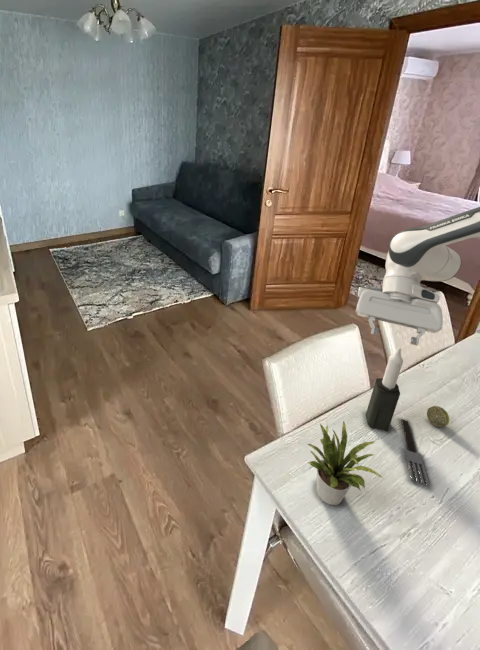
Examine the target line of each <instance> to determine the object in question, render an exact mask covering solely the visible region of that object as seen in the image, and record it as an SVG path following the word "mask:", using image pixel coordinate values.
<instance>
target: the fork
mask: <svg viewBox="0 0 480 650" xmlns="http://www.w3.org/2000/svg"><path fill="white" fill-rule="evenodd" d="M400 423H401V427H402V431H403V436H404V440H405V445H406V448H407V449H405V448H404V449H403V454H404V458H405V461H406V465H407V470H408V475H409V479H410V481H411V482H414V481H415V483H416V484H419V483H420V485H425V486H426V487H430V483H429V482H430V481H429V479H428V476H427V475H428V474H427V472H426V468H425V463H424V460H423V457H422V454H421V453H417V449H416V446H415V443H414V438H413V435H412V430H411V427H410V424H409V420H405V419H400Z"/></svg>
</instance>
